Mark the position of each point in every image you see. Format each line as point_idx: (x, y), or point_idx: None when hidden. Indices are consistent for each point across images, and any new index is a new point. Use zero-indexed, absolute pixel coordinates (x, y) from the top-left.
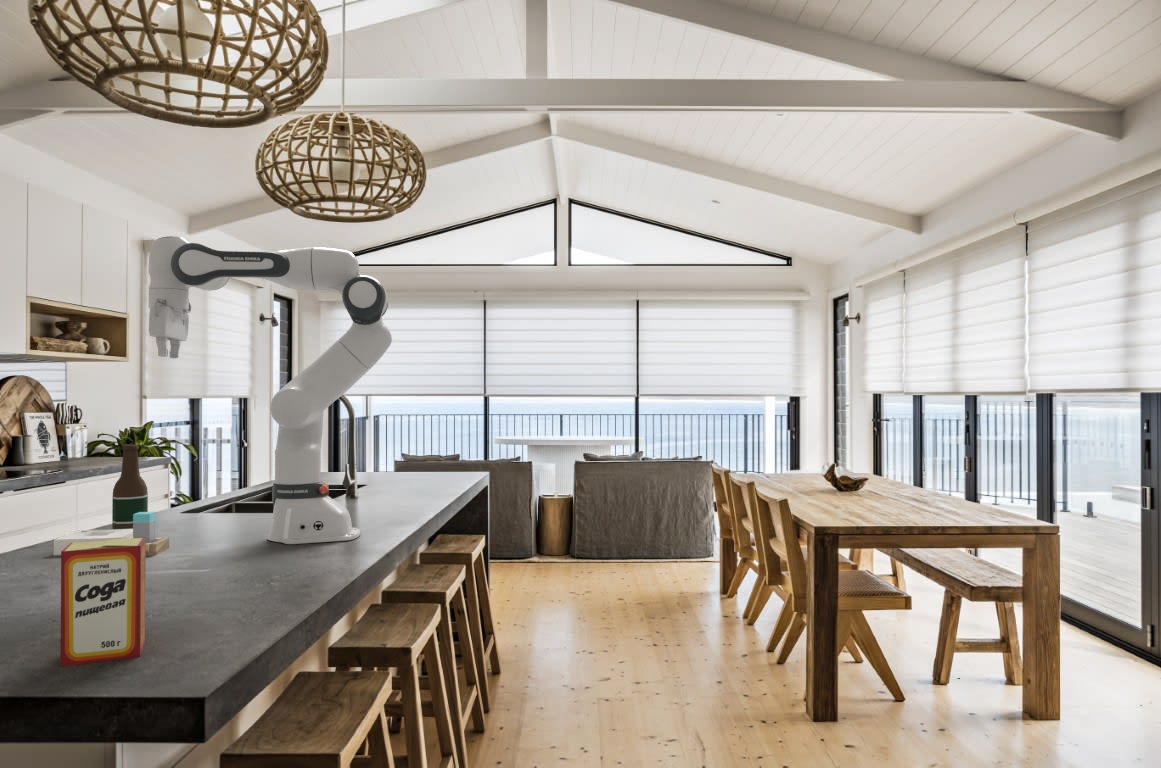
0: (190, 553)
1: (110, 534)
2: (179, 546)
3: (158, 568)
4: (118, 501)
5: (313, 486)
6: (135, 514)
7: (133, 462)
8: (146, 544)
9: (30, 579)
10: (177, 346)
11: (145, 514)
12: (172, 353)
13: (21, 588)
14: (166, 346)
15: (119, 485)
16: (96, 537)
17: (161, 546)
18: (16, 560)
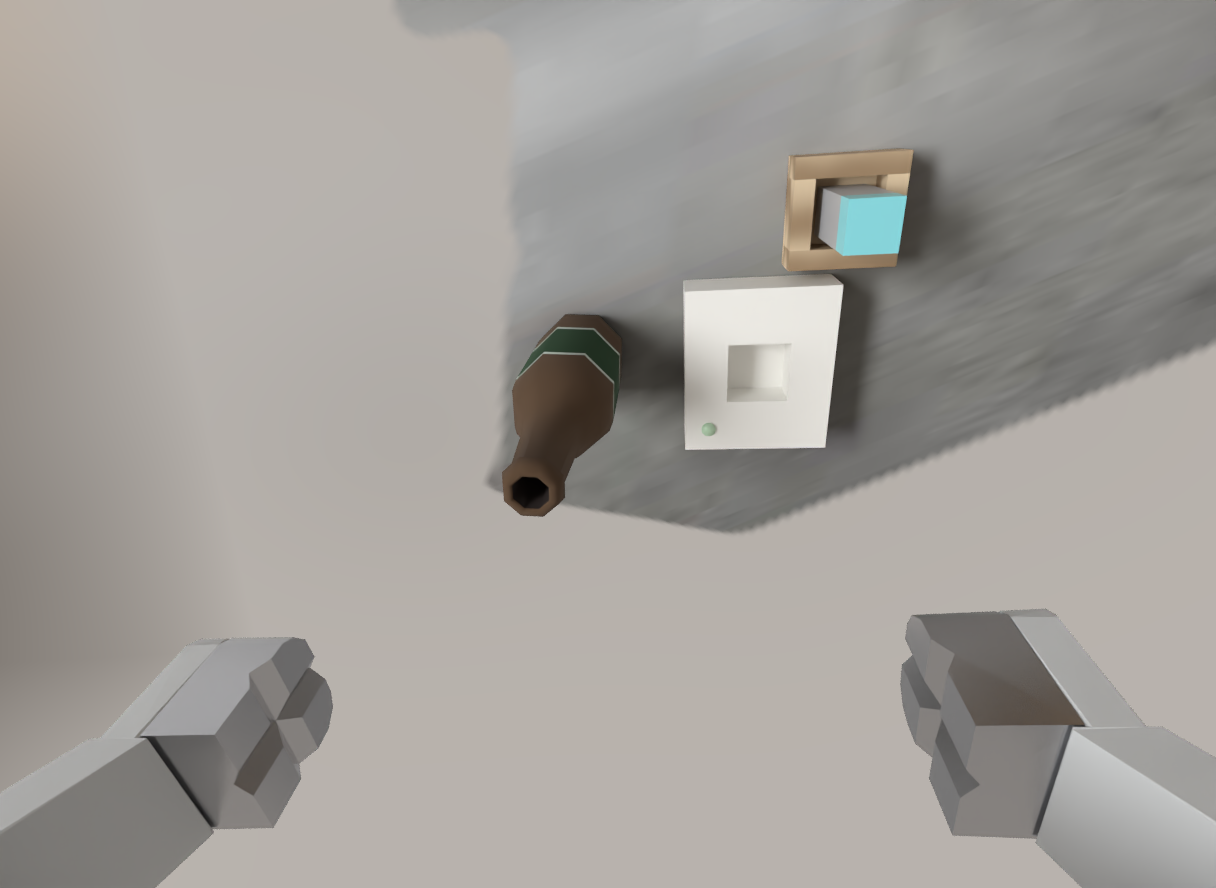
0: (863, 54)
1: (777, 338)
2: (729, 147)
3: (1087, 63)
4: (614, 411)
5: None
6: (898, 245)
7: (561, 438)
8: (908, 182)
9: (1086, 359)
10: (2, 871)
11: (904, 210)
12: (273, 751)
13: (1194, 332)
14: (1208, 789)
15: (603, 434)
16: (820, 355)
17: (862, 152)
18: (829, 488)
